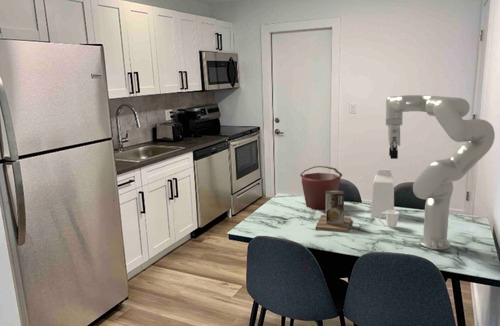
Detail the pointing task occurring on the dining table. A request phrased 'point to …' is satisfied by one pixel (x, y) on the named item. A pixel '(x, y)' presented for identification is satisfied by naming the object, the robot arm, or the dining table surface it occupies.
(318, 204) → the bucket
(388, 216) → the cup
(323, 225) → the walnut board
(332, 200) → the coffee box
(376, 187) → the milk
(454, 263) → the dining table surface
